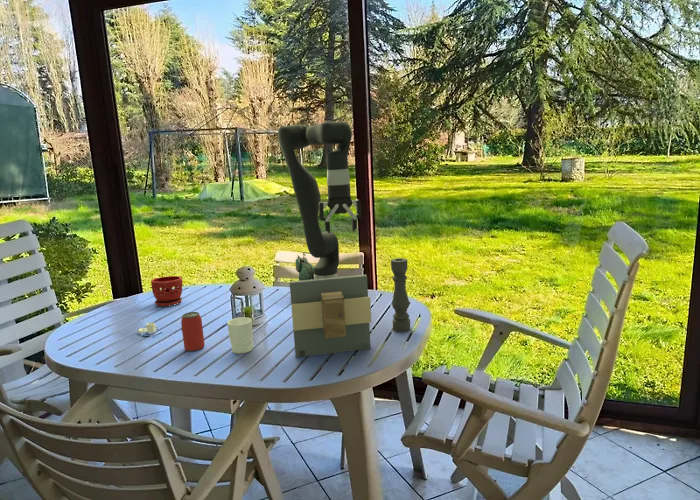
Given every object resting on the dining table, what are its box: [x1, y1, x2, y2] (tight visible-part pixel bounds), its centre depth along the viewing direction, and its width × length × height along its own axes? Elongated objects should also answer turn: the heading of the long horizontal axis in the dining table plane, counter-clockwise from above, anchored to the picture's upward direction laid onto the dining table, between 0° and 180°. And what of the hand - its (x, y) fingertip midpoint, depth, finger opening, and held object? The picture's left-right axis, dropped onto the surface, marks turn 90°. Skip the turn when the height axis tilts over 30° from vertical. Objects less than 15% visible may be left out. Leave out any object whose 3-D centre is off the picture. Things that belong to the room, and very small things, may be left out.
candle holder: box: [390, 257, 411, 333], centre depth 170 cm, size 6×6×25 cm
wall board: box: [289, 274, 372, 358], centre depth 154 cm, size 12×24×24 cm, turn 99°
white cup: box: [226, 316, 254, 355], centre depth 161 cm, size 8×8×10 cm
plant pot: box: [150, 275, 183, 307], centre depth 220 cm, size 13×13×12 cm
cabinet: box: [321, 291, 346, 338], centre depth 146 cm, size 10×6×12 cm, turn 9°
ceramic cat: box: [295, 252, 315, 281], centre depth 219 cm, size 20×6×20 cm, turn 23°
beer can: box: [180, 311, 205, 352], centre depth 164 cm, size 7×7×12 cm
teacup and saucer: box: [137, 321, 158, 334], centre depth 183 cm, size 9×8×4 cm
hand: (341, 231), depth 165 cm, fingers open, 8 cm apart
